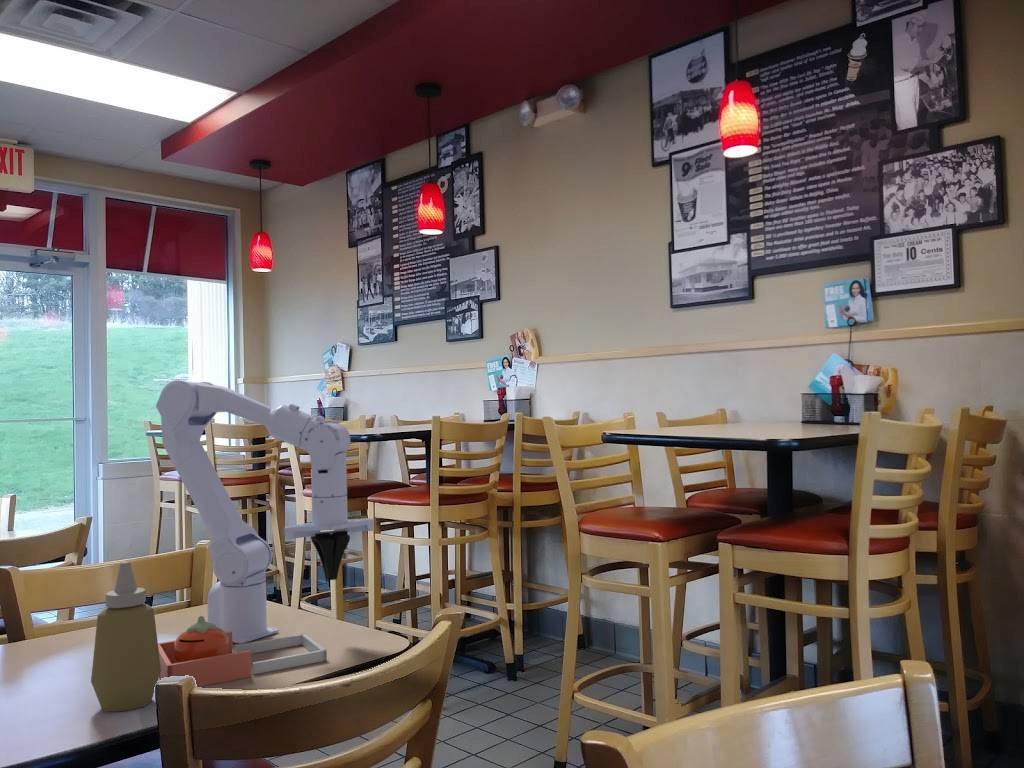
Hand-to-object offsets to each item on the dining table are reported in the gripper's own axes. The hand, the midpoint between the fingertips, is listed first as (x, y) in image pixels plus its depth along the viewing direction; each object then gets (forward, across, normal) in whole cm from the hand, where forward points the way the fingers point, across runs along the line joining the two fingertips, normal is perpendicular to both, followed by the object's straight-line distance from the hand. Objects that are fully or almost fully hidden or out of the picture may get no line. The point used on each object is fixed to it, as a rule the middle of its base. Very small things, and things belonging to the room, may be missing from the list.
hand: (331, 578), depth 131 cm
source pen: (+9, -10, -6) cm, 15 cm away
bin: (+9, -20, -6) cm, 23 cm away
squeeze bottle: (+10, -32, -14) cm, 36 cm away
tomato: (+10, -21, -6) cm, 24 cm away
